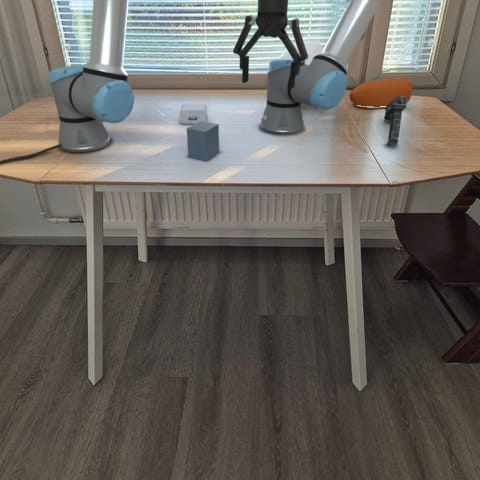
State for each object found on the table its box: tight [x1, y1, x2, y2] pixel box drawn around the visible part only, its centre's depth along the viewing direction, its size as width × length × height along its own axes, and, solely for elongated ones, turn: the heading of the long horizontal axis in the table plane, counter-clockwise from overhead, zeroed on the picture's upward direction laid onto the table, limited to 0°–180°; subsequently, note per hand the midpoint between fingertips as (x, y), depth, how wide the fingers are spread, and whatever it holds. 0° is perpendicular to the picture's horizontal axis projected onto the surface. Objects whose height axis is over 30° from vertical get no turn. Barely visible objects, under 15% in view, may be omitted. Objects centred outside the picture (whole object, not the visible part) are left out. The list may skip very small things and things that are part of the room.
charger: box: [179, 102, 208, 125], centre depth 151 cm, size 5×9×15 cm
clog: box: [349, 77, 413, 110], centre depth 164 cm, size 12×11×25 cm
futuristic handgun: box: [383, 96, 408, 147], centre depth 138 cm, size 4×29×15 cm, turn 164°
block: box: [186, 121, 220, 162], centre depth 121 cm, size 6×8×9 cm
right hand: (267, 84), depth 112 cm, fingers open, 13 cm apart
